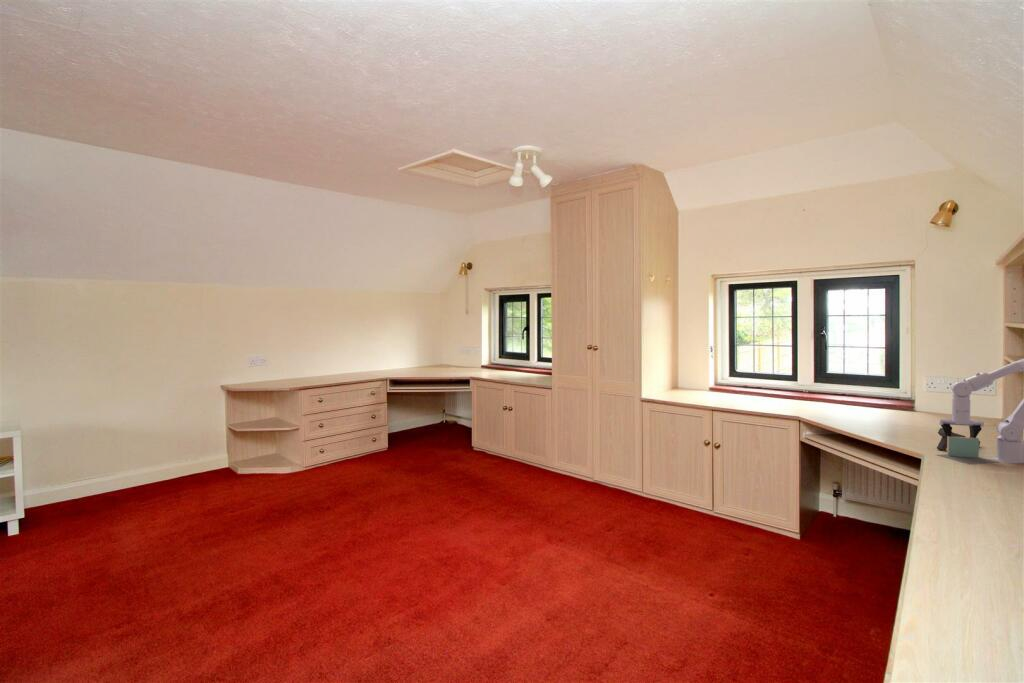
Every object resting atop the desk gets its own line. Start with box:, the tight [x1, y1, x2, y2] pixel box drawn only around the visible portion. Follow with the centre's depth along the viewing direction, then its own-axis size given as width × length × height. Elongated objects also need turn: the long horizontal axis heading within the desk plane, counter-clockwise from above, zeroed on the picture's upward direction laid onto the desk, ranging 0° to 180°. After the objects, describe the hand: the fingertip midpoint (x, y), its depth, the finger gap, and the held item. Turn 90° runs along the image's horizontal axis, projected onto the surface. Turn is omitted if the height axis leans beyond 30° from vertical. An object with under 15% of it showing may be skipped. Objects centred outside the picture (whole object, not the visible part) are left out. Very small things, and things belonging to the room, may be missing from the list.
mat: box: [936, 453, 1001, 465], centre depth 209 cm, size 14×14×1 cm
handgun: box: [936, 427, 981, 452], centre depth 226 cm, size 4×24×10 cm, turn 108°
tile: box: [946, 436, 980, 458], centre depth 212 cm, size 2×10×8 cm, turn 67°
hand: (960, 442), depth 214 cm, fingers open, 7 cm apart
